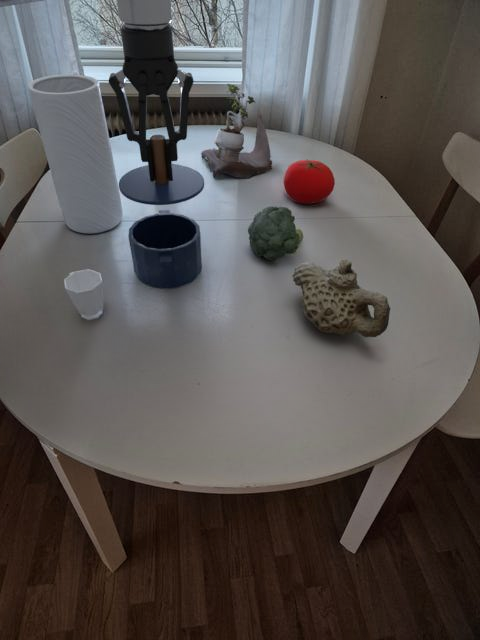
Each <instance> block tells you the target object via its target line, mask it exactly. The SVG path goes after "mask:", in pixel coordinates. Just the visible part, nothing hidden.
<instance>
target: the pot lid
mask: <svg viewBox="0 0 480 640" xmlns="http://www.w3.org/2000/svg"><path fill="white" fill-rule="evenodd" d="M149 139H150V143H151V152H152V161H153V169H154V178H155V182H150V175H149V167H148V164H147V165H142V166H139V167H136V168H133V169H131V170H128V171H127V172H126V173H124V174H123V175H122V176H121V177H120V178H119V182H118V188H119V193H120V194H122V196H123V197H125V198H126V199H129V200H130V201H132V202H135V203H139V204H144V205H149V206H169V205H176V204H180V203H185V202H187V201H189V200H191V199H193V198H196V197H198V195H200V194H201V193H202V191H203V190H204V188H205V179H204V176H203V174H201V173H200V172H199V171H198V170H196V169H194V168H192V167H190V166H187V165H186V166H185V165H182V164H174V163H172V173H173V181H169V178H168V167H167V155H166V141H165V139H166V136H165V135H163V134H153V135H150V136H149Z"/></svg>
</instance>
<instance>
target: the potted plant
mask: <svg viewBox="0 0 480 640" xmlns="http://www.w3.org/2000/svg"><path fill="white" fill-rule="evenodd" d="M227 87H228V88H227V90H226V93H229V92H230V95H231V97H230V96H227V97H225V99H226V100H229V104H231V103H232V101H233V103H232V106H231V108H232V110H228V111H227V113H226V121H225V126H226V127H225V128H218V130H217V133H216V137H215V140H214V144H215V146H216V147H217V148H218V149H216V148H215V147H214V148H213V149H212V148H209V149H205V150H202V151H201V153H200V155H201V156H200V157H201V158H202V159H201V160H202V161H203V160H205V159H206V160H207V161H206V162H207V163H208V162H209V167H210V171H211V173H213V175H212V178H213V179H216V178H217V177H218V175H220V174H227V175H229V176H232V177H234V178H240V179H241V178H243V179H244V178H246V179H249V180H250V179H251V178H252V177H253V176H254V175H256V174H261V173H266V172H267V171H270V170H272V169H273V161H272V160H271V148H270V142H269V137H268V135H267V130H266V127H265V124H264V120H263V117H262V115H261V114H259V115H258V118H257V125H256V133H255V141H254V147H253V149H252V151H250V152H242V151H243V150H244V149H245V147H244V146H243V145H244V143H245V134H244V133H242V131H243V129H244V128H245V126H246V121H245V120H246V118H247V119H248V118H249V114H248V113H249V112H248V111H247V109H248V108H247V107H248V104H249V105H251V104H253V103H255V104H256V101H255V100H254V98H255V97H253V96H249V95H248V96H247V99H245V104H244V103H242V102H241V101H240V99H244V98H245V97H246V95H245V93H243V92H242V93H241V92H240V94H241V96H238V95H239V92H238V91H240V88H239V86H237V85H236V86H235V85H234V84H231V83H227ZM235 111H239V112H238V113H236V112H235ZM230 122H232V125H233V128H231V126H230Z"/></svg>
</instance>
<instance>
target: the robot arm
mask: <svg viewBox="0 0 480 640" xmlns="http://www.w3.org/2000/svg"><path fill="white" fill-rule="evenodd" d="M42 1H43V2H45V0H0V8H3V7H10V6H16V5H23V4H31V3H37V2H42ZM171 2H172V1H171V0H116V7H117V13H118V20H119V22H120V23H122V24H123V25H122V26H121V28H120V35H121V42H122V43H121V44H122V50H123V59H124V61H123V64H122V69H121V70H118V71H117V72H116V73H115V72H112V73H110V75H109V79H108V83H109V86H110V87H111V88H112V90H113V92H114V93H115V96H116V100H117V104H118V108H119V111H120V115H121V119H122V123H123V127H124V131H125V135H126V138H127V140H128V141H129V142H135V143H137V144H138V147H139V153H140V154H139V155H140V160H141V162H142V163H147V165H148V167H149V175H150V182H155V178H154V169H153V161H152V152H151V143H150V138H149V139H147V107H148V106H147V105H148V103H147V101H148V100H147V98H148V96H151V95H155V96H159V100H160V104H161V108H162V113H163V117H164V122H165V128H166V131H167V137H168V138H165V141H166V155H167V167H168V178H169V181H173V173H172V164H173V162H178V159H179V158H178V157H179V155H178V142H181V141H185V140H186V139H187V137H188V120H189V104H190V102H189V101H190V93H191V89H192V87H193V84H194V81H195V80H194V76H193V74H192V73H191V72H185V71H183V70H181V69H180V68H179V65H178V64H177V61H176V60H175V49H174V48H175V46H174V34H173V33H174V32H173V28H172V27H171V26H170V25H169V24H170V23H171V22H172V21H173V20H172V19H173V17H172V3H171ZM176 78H177V79H178V80H177V81H178V87H180V99H179V125H178V127H179V128H178V129H177V130H176V128H175V124H174V119H173V114H172V108H171V103H170V98H169V93H168V91H169V90H170V88H171V86H172V85H173V83H174V82H175V80H176ZM126 79H127V80H128V81H129V83H130V84H131V85H132V87H133V88H134V89H135V90H136V91H137V93H138V131H136V130H135V126H134V122H133V118H132V114H131V109H130V106H129V102H128V98H127V97H128V96H127V94H126V90H125V87H126Z"/></svg>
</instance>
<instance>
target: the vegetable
mask: <svg viewBox="0 0 480 640" xmlns="http://www.w3.org/2000/svg"><path fill="white" fill-rule="evenodd" d="M292 213H293V212H292V210H291V209H289V208H288V207H286V206H272V205H271V206H266V207H264V208H263V209H262V211H258V212H257V213H256V214H255V215H254V217H253V219H252V221H251V223H250V224H249V226H248V228H247V232H248V235H249V236H248V240H249V247H250V250H251V251H252V253H254V254H255V255H256V256H258V257H262V256H263V257H264V258H266V259H267V260H270V261H273V262H275V261H277V260H279V259H281V258H283V256H284V255H294V254H296V252H297V249H298V248H299V245H301V243H302V242H303V240H304V233H303V231H302V230H301V228H297V227H296V224H295V219H296V216H295V215H293V214H292Z"/></svg>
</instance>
